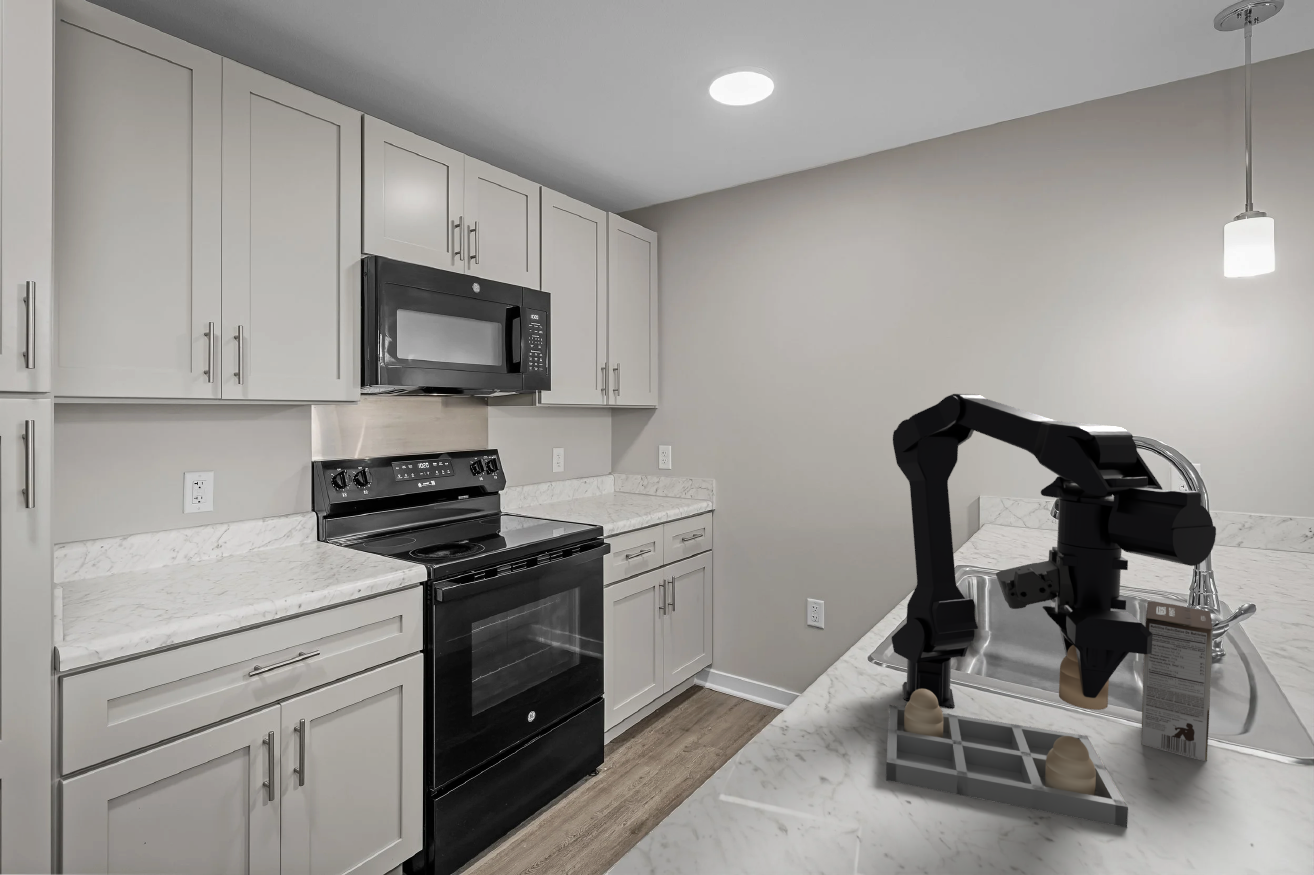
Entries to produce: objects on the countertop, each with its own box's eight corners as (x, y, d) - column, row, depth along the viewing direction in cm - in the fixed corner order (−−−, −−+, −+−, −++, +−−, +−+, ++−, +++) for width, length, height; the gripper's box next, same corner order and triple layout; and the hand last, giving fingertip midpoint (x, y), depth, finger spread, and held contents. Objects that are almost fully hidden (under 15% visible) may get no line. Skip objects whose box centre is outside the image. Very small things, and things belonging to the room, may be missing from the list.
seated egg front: (1041, 780, 71) (1042, 724, 71) (1088, 788, 69) (1090, 731, 69) (1049, 802, 67) (1051, 743, 66) (1100, 812, 65) (1102, 751, 65)
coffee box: (1143, 720, 86) (1147, 599, 85) (1206, 736, 82) (1211, 609, 81) (1138, 747, 79) (1143, 615, 78) (1208, 765, 75) (1213, 627, 74)
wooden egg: (1054, 688, 73) (1056, 634, 72) (1100, 694, 71) (1102, 639, 71) (1064, 705, 69) (1066, 647, 68) (1113, 712, 67) (1116, 653, 67)
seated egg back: (903, 728, 82) (905, 680, 82) (941, 734, 81) (943, 685, 81) (903, 744, 78) (905, 694, 78) (943, 751, 77) (945, 700, 76)
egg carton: (889, 722, 85) (889, 704, 85) (1086, 755, 77) (1087, 735, 77) (886, 783, 71) (886, 761, 71) (1127, 831, 63) (1128, 806, 63)
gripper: (990, 524, 81) (986, 647, 81) (1020, 555, 63) (1014, 713, 64) (1095, 530, 77) (1090, 660, 78) (1158, 566, 59) (1150, 733, 60)
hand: (1082, 687), depth 70 cm, fingers closed on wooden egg, 4 cm apart
